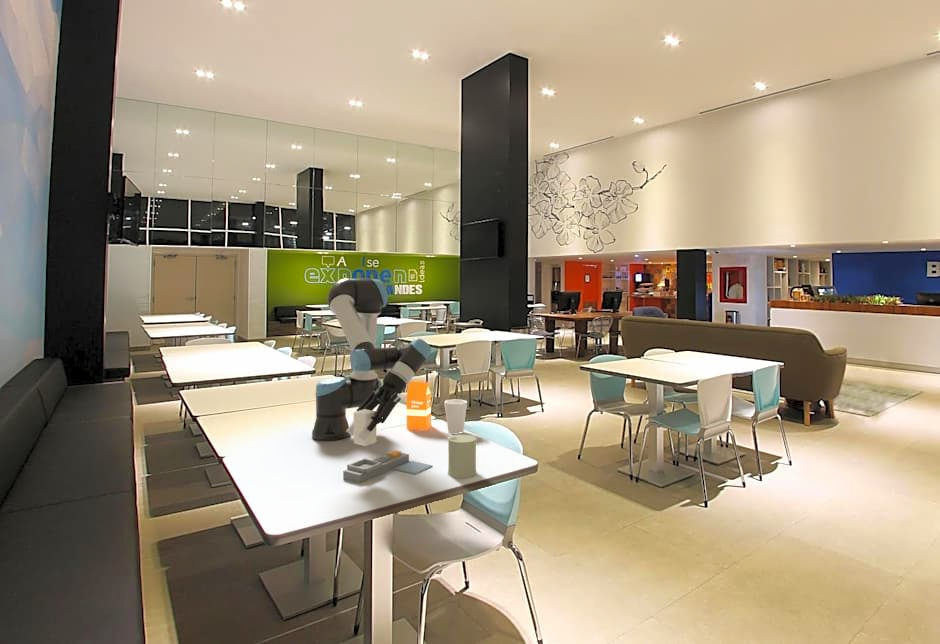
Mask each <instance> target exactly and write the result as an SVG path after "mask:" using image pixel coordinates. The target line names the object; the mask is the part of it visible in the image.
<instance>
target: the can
mask: <svg viewBox="0 0 940 644" xmlns="http://www.w3.org/2000/svg"><path fill="white" fill-rule="evenodd" d="M447 440H448V441H447V442H448V471H447V475H448V476H450V477H451V478H455V479H469V478H473V477H474V476H476V475H477V454H476V453H477V438H476V436H474V435H472V434H471V435H470V434H452V435H450V436H449V437H447Z"/></svg>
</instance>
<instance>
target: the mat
mask: <svg viewBox="0 0 940 644" xmlns="http://www.w3.org/2000/svg"><path fill="white" fill-rule="evenodd" d="M432 467H433V465H431V464H428V463H423V462H418V461H414V460H409V462H406V463H404V464H402V465H400V466H397V467H395V468H393V470H395V471H398V472H403V473H408V474H411V475H418V474H420V473H422V472H424V471H427V470H428V469H430V468H432Z"/></svg>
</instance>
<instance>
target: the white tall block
mask: <svg viewBox="0 0 940 644" xmlns="http://www.w3.org/2000/svg"><path fill="white" fill-rule="evenodd" d="M375 412H376V410H366V409H364V410H360V411H354V412H353V421H354V435H353V444H354V445H355V444H356V445H359V446H364V447H367V446H368V445H372V444H375V443H377V425H376V426H375V428H374V429H373V430H372V431H371V432H370V434H369V435H368V436H367V438H366V439H365V440H364V441H363V440H362V439H360V438H359V437H358V436H357V435H358V434H359V433H360V431H361V430H362V429H363V427H364V426H365V425H366V423H367V422H368V421H369V419H372V418H371V417H373V416H374V414H375ZM372 420H373V419H372Z"/></svg>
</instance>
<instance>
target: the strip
mask: <svg viewBox="0 0 940 644" xmlns="http://www.w3.org/2000/svg"><path fill="white" fill-rule="evenodd" d="M409 461H410V454H409V453H406V452H405V453H404V452H402V451H400V450H392V451H390V452H388V453H384V454H382V455H380V456H376V457H375V458H372V459H370V458H369V459H368V458H362V459H359V460H355V461H354V462H352V463H349V464H346V465H347V466H346V468H347V469H345V470H343V471H342V472H343V473H342V474H343V475H342V477H343V480H347V481H351V482H353V483H354V482H355V483H357V484H361V483H363V482H365V481H367V480H370V479H372V478H374V477H376V476H379V475H381V474H383V473H386V472H389V471H390V470H394V468H396V467H398V466H400V465H403V464H405V463H407V462H409Z"/></svg>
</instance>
